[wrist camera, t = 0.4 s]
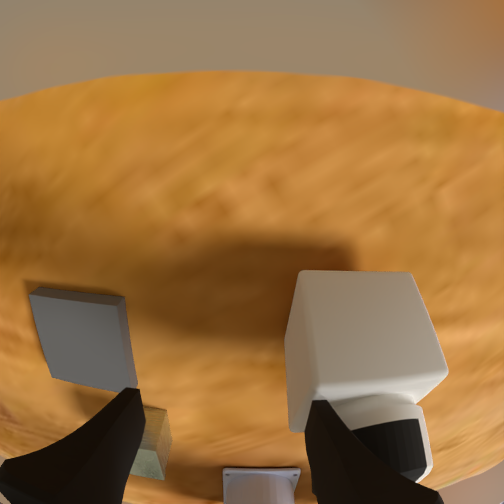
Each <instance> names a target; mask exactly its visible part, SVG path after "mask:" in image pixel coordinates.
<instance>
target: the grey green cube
mask: <svg viewBox="0 0 504 504" xmlns="http://www.w3.org/2000/svg"><path fill="white" fill-rule="evenodd" d="M143 409H144V414H145V418H146V424H145V429H144V433H143V437H142V441H141V444H140V447H139V449H138V452H137V455H136V457H135V460H134V463H133V465H132V468H131V471H130V473H129V474H133V475H138V476H143V477H148V478H153V479H159V480H165V476H166V475H165V469H166V465H167V461H168V456H169V452H170V448H171V444H172V436H171V430H170V425H169V419H168V414H167V410H163V409H156V408H149V407H143Z"/></svg>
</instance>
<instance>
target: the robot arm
mask: <svg viewBox="0 0 504 504" xmlns="http://www.w3.org/2000/svg"><path fill="white" fill-rule="evenodd" d="M145 424H146V418H145V414H144V409H143V404H142V399H141V394H140V389H135V388H130V387H126V388H124V389H123V390H122V391H121V392H120V393H119V394H118V395H117V396H116V397H115V398H114V399H113V400H112V401H111V402H110V403H109V404H107V405H106V406H105V407H104V408H103V409H102V410H101V411H100V412H98V413H97V414H96V415H95V416H94V417H93V418H91V419H90V420H89V421H88V422H86V423H85V424H84V425H82V426H81V427H80V428H78V429H77V430H76V431H74V432H73V433H71V434H70V435H68V436H66V437H65V438H63V439H61V440H59V441H57V442H55V443H53V444H51V445H49V446H47V447H45V448H43V449H40V450H38V451H35V452H32V453H29V454H26V455H23V456H19V457H15V458H11V459H6V460H5V461H4V462H3V464H2V465H1V467H0V492H1V493H2V494H3V495H4V497H6V499H7V500H8V501H9V502H10V503H11V504H122V499H123V494H124V490H125V486H126V482H127V479H128V476H129V473H130V471H131V468H132V465H133V463H134V460H135V457H136V455H137V452H138V449H139V447H140V444H141V441H142V437H143V433H144V429H145ZM304 432H305V443H306V452H307V456H308V460H309V465H310V469H311V473H312V477H313V481H314V486H315V490H316V495H317V501H318V504H444V502H443V500H442V498H441V496H440V495H439V493H438V492H437V491H435V490H432V489H430V488H427V487H425V486H422V485H420V484H418V483H416V482H414V481H412V480H410V479H408V478H406V477H405V476H403V475H401V474H400V473H398V472H397V471H395V470H394V469H392V468H391V467H389V466H388V465H386V464H385V463H384V462H382V461H381V460H380V459H379V458H377V457H376V456H375V455H374V454H373V453H372V452H371V451H369V450H368V449H367V448H366V447H365V446H364V445H363V444H362V443H361V442H360V441H359V439H358V438H357V437H356V436H355V435H354V434H353V433H352V432H351V430H350V429H349V428H348V427H347V426H346V424H345V423H344V422H343V421H342V419H341V418H340V417H339V416H338V414H337V413H336V412H335V410H334V409H333V407H332V406H331V405H330V403H329V402H328V401H327V400H312V403H311V407H310V411H309V415H308V419H307V423H306V427H305V431H304ZM300 473H301V470H300V468H278V469H248V468H224V469H223V495H224V504H295V501H294V491H295V488H296V485H297V482H298V479H299V476H300ZM0 504H2V503H1V502H0Z"/></svg>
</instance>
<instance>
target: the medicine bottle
mask: <svg viewBox="0 0 504 504" xmlns="http://www.w3.org/2000/svg"><path fill="white" fill-rule="evenodd" d="M284 347H285V363H286V381H287V400H288V420H289V429H290V431H292V432H304V431H305V427H306V423H307V419H308V415H309V411H310V407H311V403H312V400H327V401H328V402H329V403H330V405H331V406H332V407H333V409H334V410H335V412H336V413H337V414H338V416H339V417H340V418H341V419H342V421H343V422H344V423H345V424H346V426H347V427H348V428H349V429H350V430H351V432H352V433H353V434H354V435H355V436H356V437H357V438H358V439H359V441H360V442H361V443H362V444H363V445H364V446H365V447H366V448H367V449H368V450H369V451H371V452H372V453H373V454H374V455H375V456H376V457H377V458H379V459H380V460H381V461H382V462H384V463H385V464H386V465H388V466H389V467H391V468H392V469H394V470H395V471H397V472H398V473H400V474H401V475H403V476H405V477H406V478H408V479H410V480H412V481H414V482H416V483H418V482H419V481H421V480H422V479H423V478H424V477H425V476H427V475H428V474H429V473H430V471H431V469H432V467H433V460H432V455H431V449H430V444H429V438H428V433H427V428H426V424H425V419H424V415H423V410H422V408H421V407H420V406H418V405H415V404H416V403H417V402H419V401H420V400H421V399H422V398H423V397H424V396H426V395H427V394H428V393H429V392H430V391H431V390H432V389H434V388H435V387H436V386H437V385H438V384H439V383H440V382H441V381H442V380H443V379H444V378H445V377H446V376H447V374H448V367H447V364H446V361H445V358H444V355H443V352H442V349H441V346H440V343H439V340H438V338H437V335H436V332H435V330H434V327H433V324H432V322H431V319H430V316H429V314H428V311H427V309H426V306H425V304H424V302H423V299H422V297H421V294H420V292H419V290H418V287H417V285H416V283H415V280H414V278H413V276H412V274H411V273H410V272H377V271H326V270H302V271H300V272H299V274H298V278H297V283H296V287H295V292H294V297H293V302H292V306H291V311H290V316H289V320H288V325H287V329H286V334H285V338H284ZM311 478H312V493H313V494H315V495H316V490H315V486H314V481H313V477H312V473H311ZM316 496H317V495H316Z"/></svg>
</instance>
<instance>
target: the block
mask: <svg viewBox="0 0 504 504" xmlns="http://www.w3.org/2000/svg"><path fill="white" fill-rule="evenodd" d="M29 298H30V303H31V307H32V311H33V315H34V320H35V323H36V327H37V331H38V335H39V338H40V342H41V345H42V348H43V352H44V355H45V358H46V361H47V364H48V367H49V370H50V373H51V376H52V378H56V379H60V380H64V381H68V382H72V383H76V384H80V385H85V386H89V387H94V388H98V389H103V390H108V391H114V392H119V393H120V392H121V391H122V390H123V389H124V388H126V387H130V388H135V389H136V387H137V385H138V381H137V376H136V371H135V365H134V360H133V354H132V348H131V341H130V335H129V328H128V320H127V313H126V304H125V297H122V296H111V295H102V294H92V293H83V292H75V291H66V290H58V289H51V288H43V287H38V288H37V289H35V290H34V291H33V292H31V293H30V294H29Z"/></svg>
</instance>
